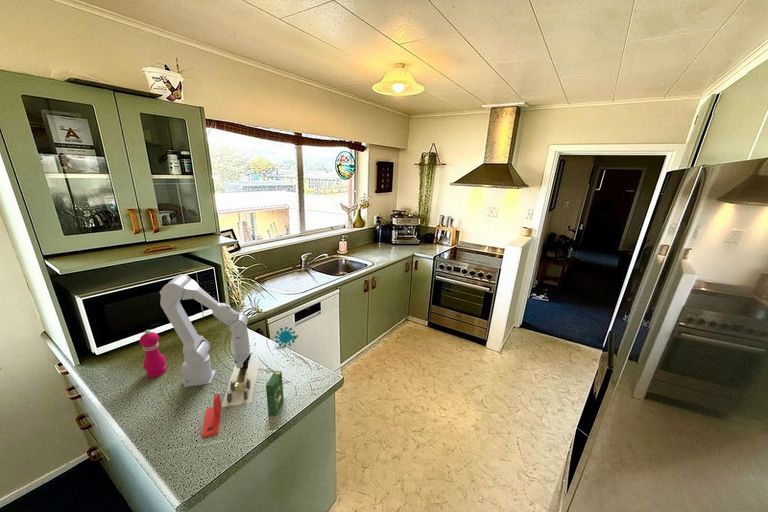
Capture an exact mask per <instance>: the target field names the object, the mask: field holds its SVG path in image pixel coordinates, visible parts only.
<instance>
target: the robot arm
mask: <svg viewBox="0 0 768 512" xmlns="http://www.w3.org/2000/svg"><path fill="white" fill-rule="evenodd" d="M159 294H160V302H159V303H160V307H161V309H162V310H163V312H164V314H165V315H166V317H167V319H168V321H169V322H170V325H172V327H173V329H174V331H175V332H176V334H177V336H178V338H179V339H180V341H181V342H182V344H183V345H182V354H183V356H184V361H183V362H182V366H181V376H182V379H183V380H182V381H183V388H188V387H193V386H202V385H208V384H209V385H210V384H211V383H212V381H213V378H214V376H215V373H216V369H212V363H211V357H210V356H211V355H210V353H209V351H210V349H211V344H210V342H209V341H208V340H207V339H205V338H204V336H203V335H199V334H198V332H197V330H196V328H195V327H194V325H193V324H192V321H191V320H190V318H189V316H188V314H187V313H186V311H185V309H184V308H183V307H184V306H182V303H181V300H182V301H185V300H195V301H196V302H198V303H200V304H201V305H203V306H204V307H206V308H208V309H209V310H211V311H212V315H213V317H215V318H217V319H218V320H219V321H221V322H222V323H224V324H225V325H227V326H228V330H229V332H230V333H231V336H232V344H233V346H232V347H233V352H234V354H233V355H234V357H233V358H234V363H235V364H236V365H235V366H237V368H240V369H245V368H247V370H248V364H250V363H249V362H250V360H251V356H252V355H253V354H254V349H251V348H250V339H249V331H248V325H247V324H248V322H249V317H248V316H247V315H246V314H245V313H244V312H238V311H237V310H235V309H234V308H232V307H231V305H230V304H227V303H225V302H219V301H217V300H216V299H215V298H213V297H212V296H211V295H210V294H209V293H208V292H207V291H205V290H204V289H203V288H202V287H200V285H199V284H198V282H197V281H196V280H194V279H192V278H191V277H190V276H188V274H182V273H181V274H178V275H176V276H174V277H173V278H172V280H171V279H170V281H168V283H166V284H164V286H163V287H162V288H161V290H160V291H159Z"/></svg>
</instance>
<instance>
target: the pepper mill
mask: <svg viewBox="0 0 768 512" xmlns="http://www.w3.org/2000/svg"><path fill="white" fill-rule="evenodd" d="M159 340H160V336H159V334H158V333H156V332H153V331H151V329H145V331H144V334H142V335H141V336H140V337H139V344H140V345H141V346H142V350H143V351H145V358H144V360H143V369H144V371H146V374H147V377H149V378H156V377H159V376H162V375H163V374H165V373H166V371H167V367H166V364H167V363H166V362H167V361H166V360H167V359H166V358H165V356H164V355H163V354H162V353H161V352H160V350H159V346H160V345H159Z"/></svg>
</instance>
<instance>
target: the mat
mask: <svg viewBox="0 0 768 512" xmlns="http://www.w3.org/2000/svg"><path fill="white" fill-rule="evenodd" d="M259 367H260V362H257V363H256V362H255V363H248V370H247V371H248V376H247V379H248V378H249V379H250V380H251V386H250V389H248V393H249V395H248V399H246V400H244V395H243V394H244V392H241V393H236V391H235V390H234V391H232V396H233V397H232V400H231V402H227V392H228V391H231V389H230V384H231V383H230V382H231V381H235V384H236V381H237V377H238V374H239V370H240V368H237V366H236V365H234V367H233V370H232V372H231V373H232V374H231V376H230V380H229V382H228V385H227V388H226V392H225V395H224V397H223V401H222V403H221V408H226V407H232V406H238V405H246V404H250V403H252V401H253V396H254V393H255V392H254V391H255V388H256V387H255V386H256V383H257V377H258V371H259ZM245 389H246V385H245Z"/></svg>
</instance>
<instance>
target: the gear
mask: <svg viewBox="0 0 768 512" xmlns="http://www.w3.org/2000/svg"><path fill="white" fill-rule="evenodd" d="M283 329H284V330H283ZM279 330H280V331H279ZM279 330H277V331H276V332H275V333H276V334H277V335H274V339H276V340H275V343H276V344H278V346H279V347H281V346H282V345H283V348H286V347H287V346H288V347H291V346H292V344H294V343H295V342H296V341H295V340H296V339H297V338H299V334H296V331H295V330H293V328H292V327H290V328H289V329H288V326H285V327H284V328H283V327H280V328H279ZM292 334H293V335H292ZM295 334H296V335H295ZM277 339H278V340H277ZM291 343H292V344H291ZM287 344H288V345H287Z"/></svg>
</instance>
